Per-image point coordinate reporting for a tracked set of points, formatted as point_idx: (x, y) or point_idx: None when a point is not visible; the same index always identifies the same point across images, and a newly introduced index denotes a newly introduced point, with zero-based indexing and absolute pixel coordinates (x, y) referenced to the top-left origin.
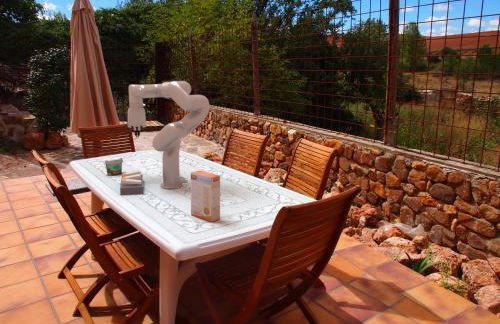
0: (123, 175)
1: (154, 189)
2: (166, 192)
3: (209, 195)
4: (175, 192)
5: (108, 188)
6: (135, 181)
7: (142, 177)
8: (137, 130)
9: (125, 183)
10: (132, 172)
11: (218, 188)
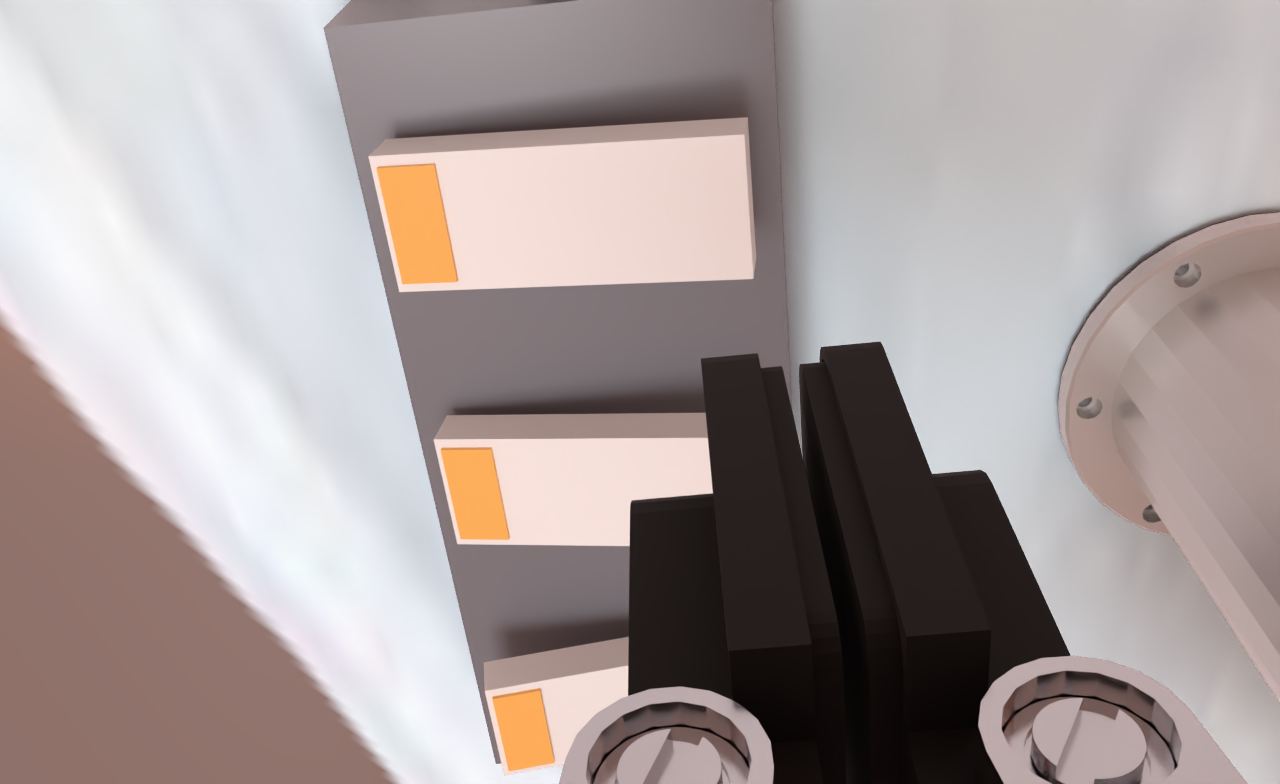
0: (411, 286)
1: None
2: (1100, 636)
3: None
4: (1219, 646)
5: (244, 395)
6: None
7: (780, 244)
8: (884, 760)
9: (526, 576)
10: (577, 225)
11: None
